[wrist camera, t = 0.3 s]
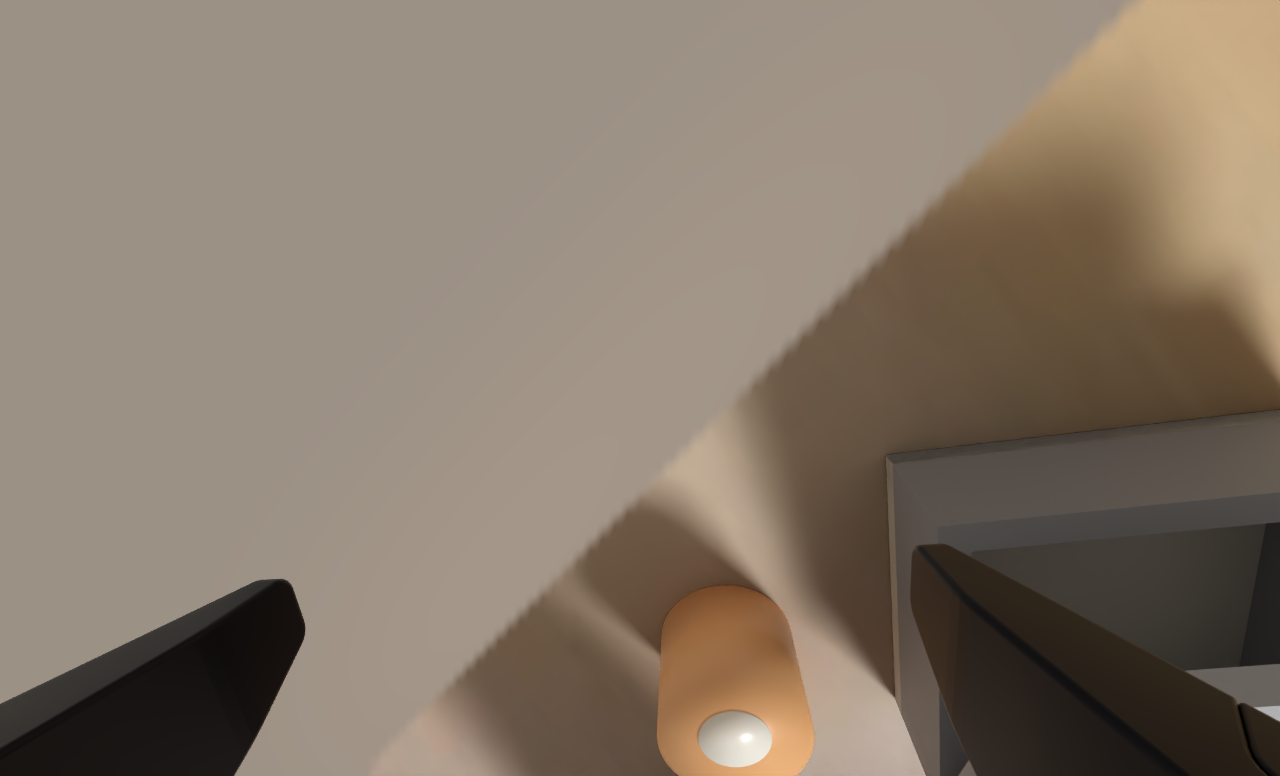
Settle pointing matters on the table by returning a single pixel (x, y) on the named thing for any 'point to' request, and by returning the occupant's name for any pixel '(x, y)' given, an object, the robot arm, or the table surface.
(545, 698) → the table surface
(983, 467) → the carton
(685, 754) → the orange round cylinder
